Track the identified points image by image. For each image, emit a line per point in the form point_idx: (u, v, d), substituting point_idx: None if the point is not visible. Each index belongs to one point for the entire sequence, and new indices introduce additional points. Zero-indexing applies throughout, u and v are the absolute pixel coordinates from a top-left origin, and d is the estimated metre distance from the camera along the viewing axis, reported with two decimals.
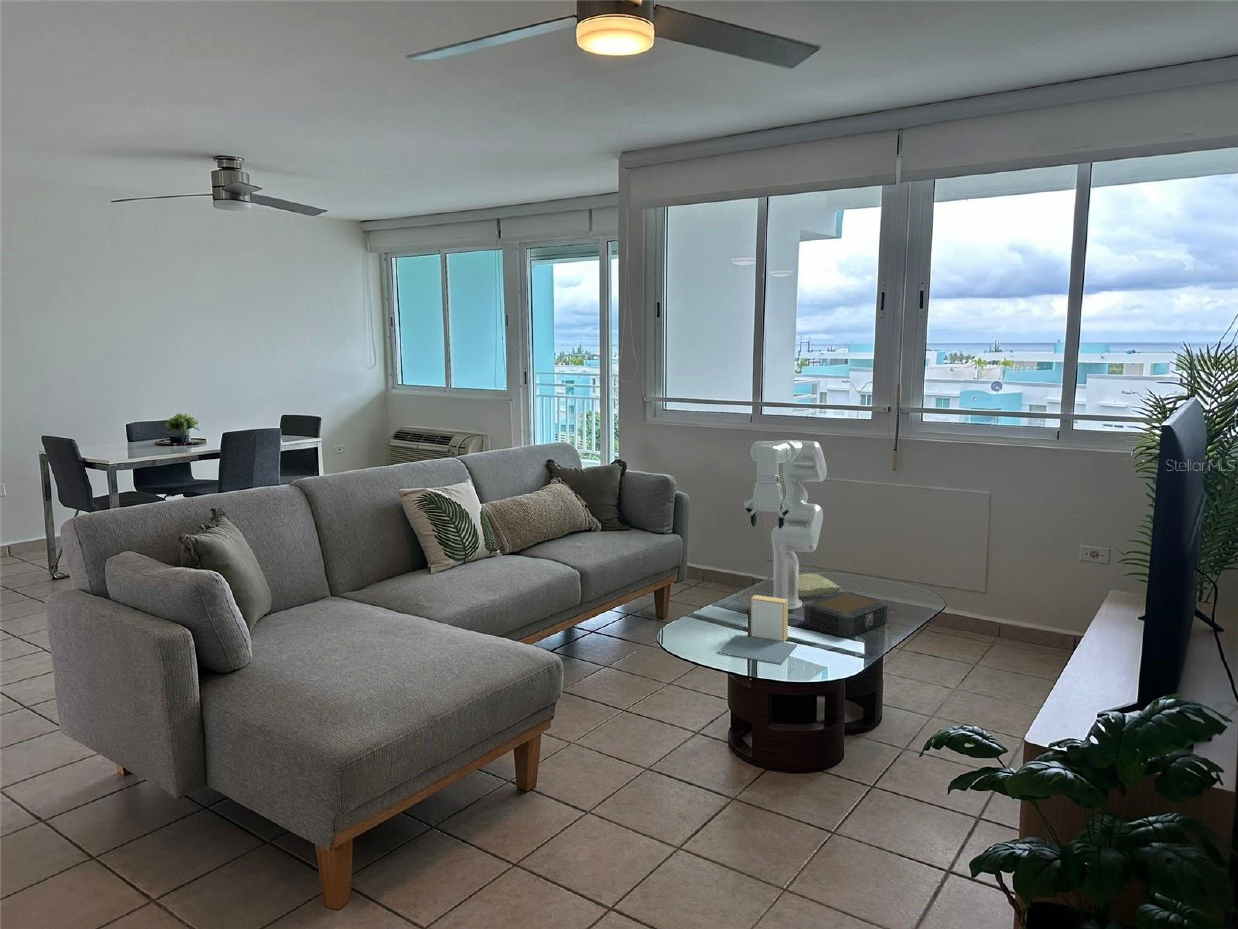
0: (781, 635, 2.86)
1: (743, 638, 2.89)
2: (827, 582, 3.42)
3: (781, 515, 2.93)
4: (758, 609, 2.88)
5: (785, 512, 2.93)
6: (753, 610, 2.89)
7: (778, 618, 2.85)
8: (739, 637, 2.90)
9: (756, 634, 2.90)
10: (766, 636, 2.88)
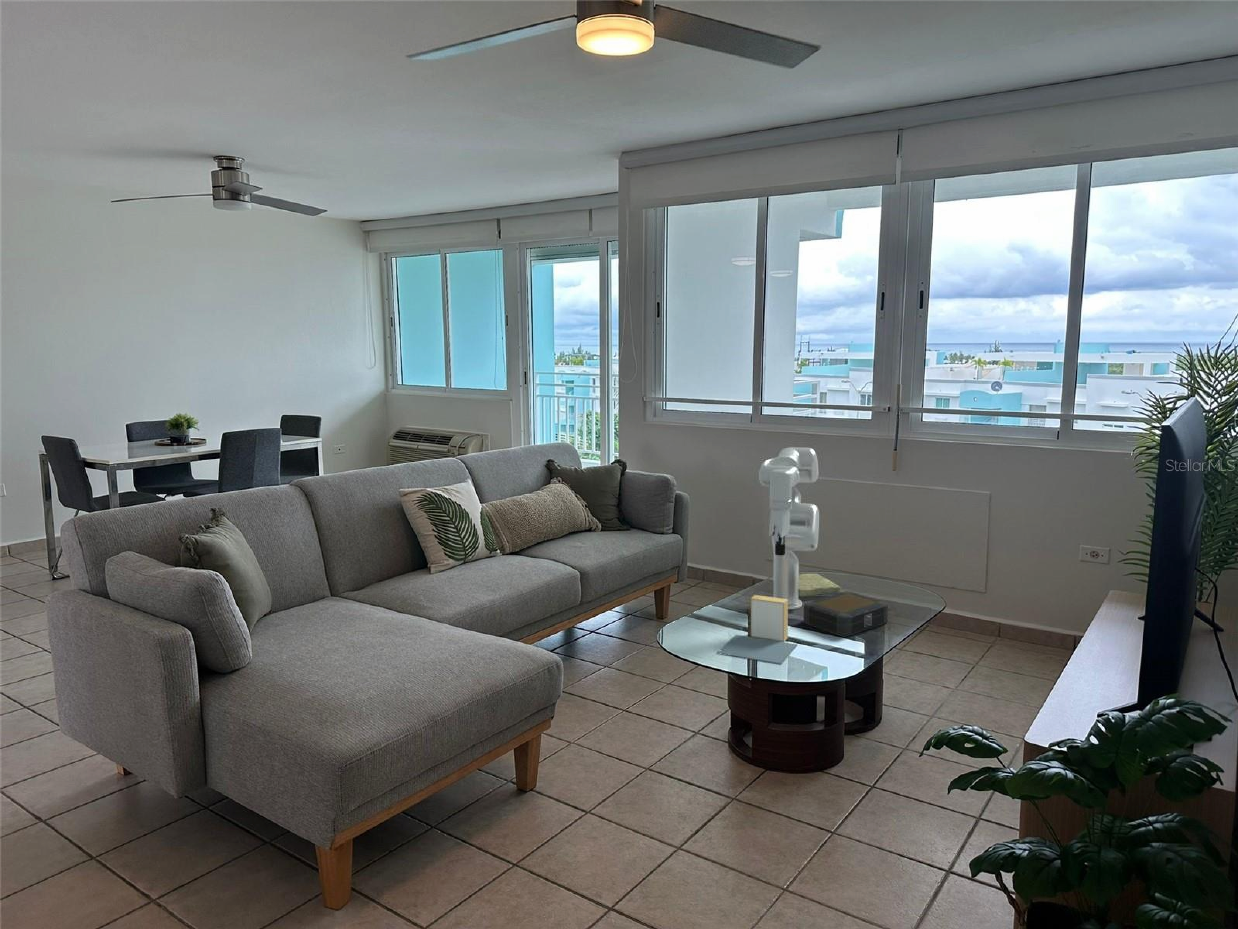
0: (781, 635, 2.86)
1: (743, 638, 2.89)
2: (827, 582, 3.42)
3: (784, 541, 2.96)
4: (758, 609, 2.88)
5: None
6: (753, 610, 2.89)
7: (778, 618, 2.85)
8: (739, 637, 2.90)
9: (756, 634, 2.90)
10: (766, 636, 2.88)
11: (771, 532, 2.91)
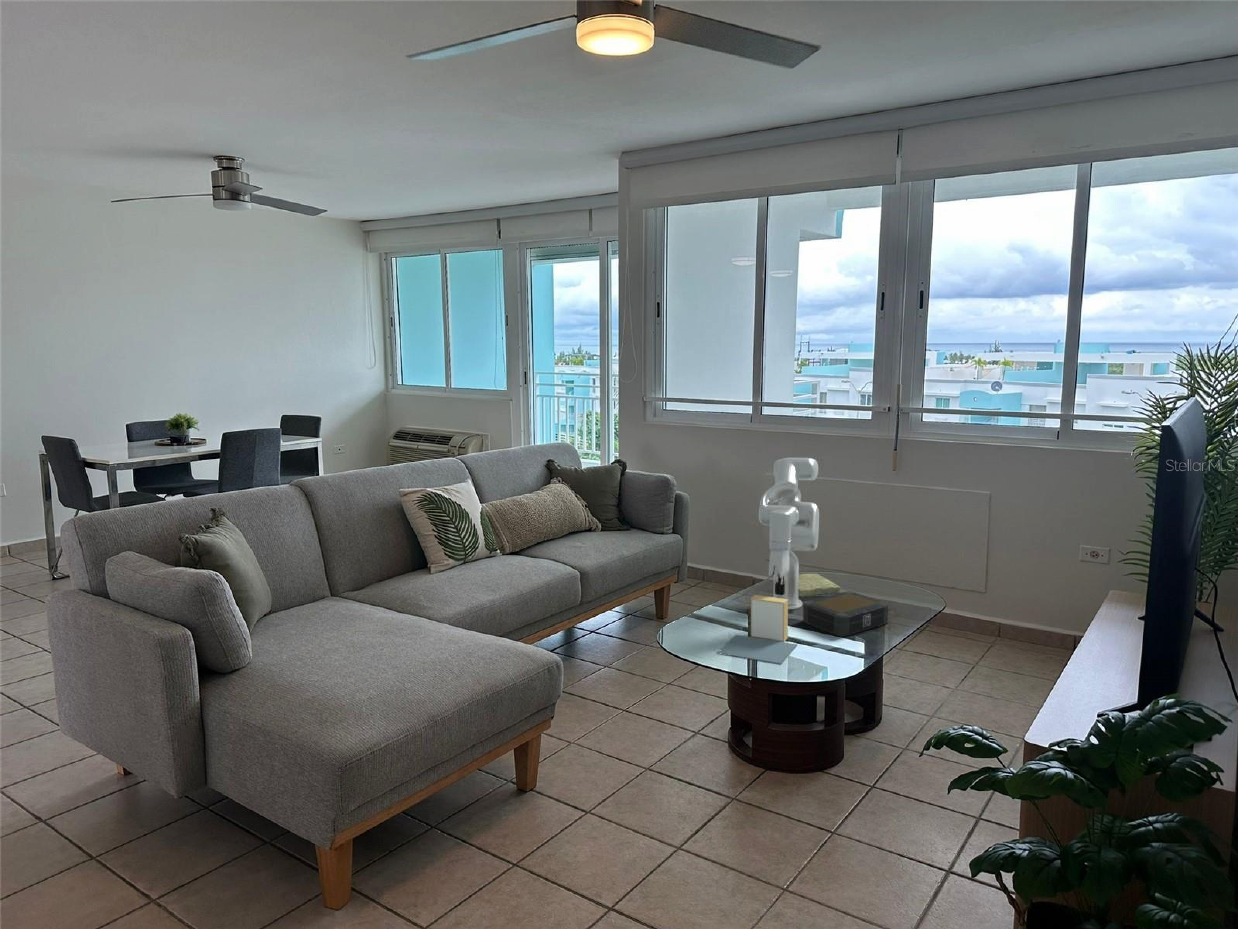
0: (781, 635, 2.86)
1: (743, 638, 2.89)
2: (827, 582, 3.42)
3: (784, 580, 2.98)
4: (758, 609, 2.88)
5: None
6: (753, 610, 2.89)
7: (778, 618, 2.85)
8: (739, 637, 2.90)
9: (756, 634, 2.90)
10: (766, 636, 2.88)
11: (771, 572, 2.94)
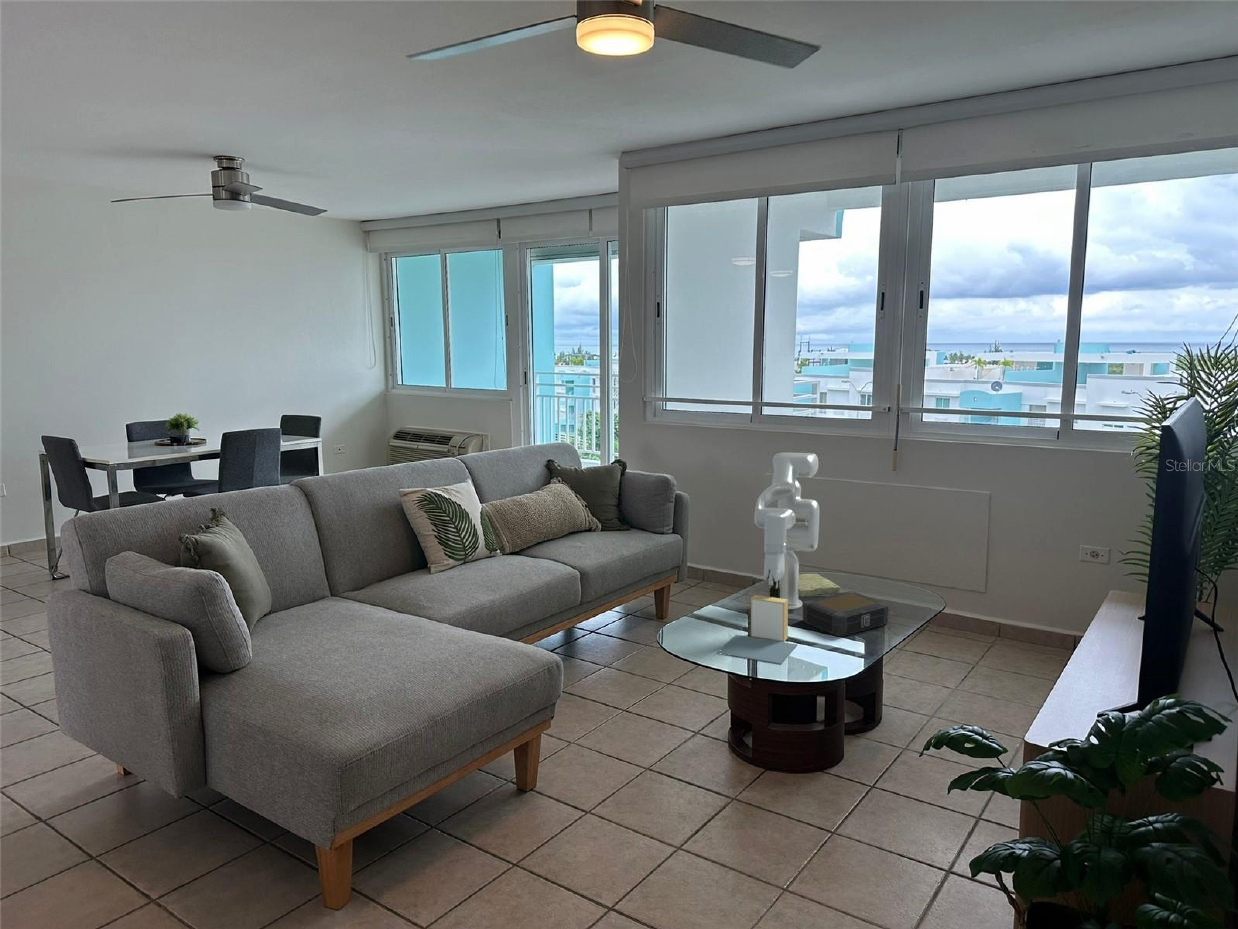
0: (781, 635, 2.86)
1: (743, 638, 2.89)
2: (827, 582, 3.42)
3: (779, 584, 2.93)
4: (758, 609, 2.88)
5: None
6: (753, 610, 2.89)
7: (778, 618, 2.85)
8: (739, 637, 2.90)
9: (756, 634, 2.90)
10: (766, 636, 2.88)
11: (766, 576, 2.89)
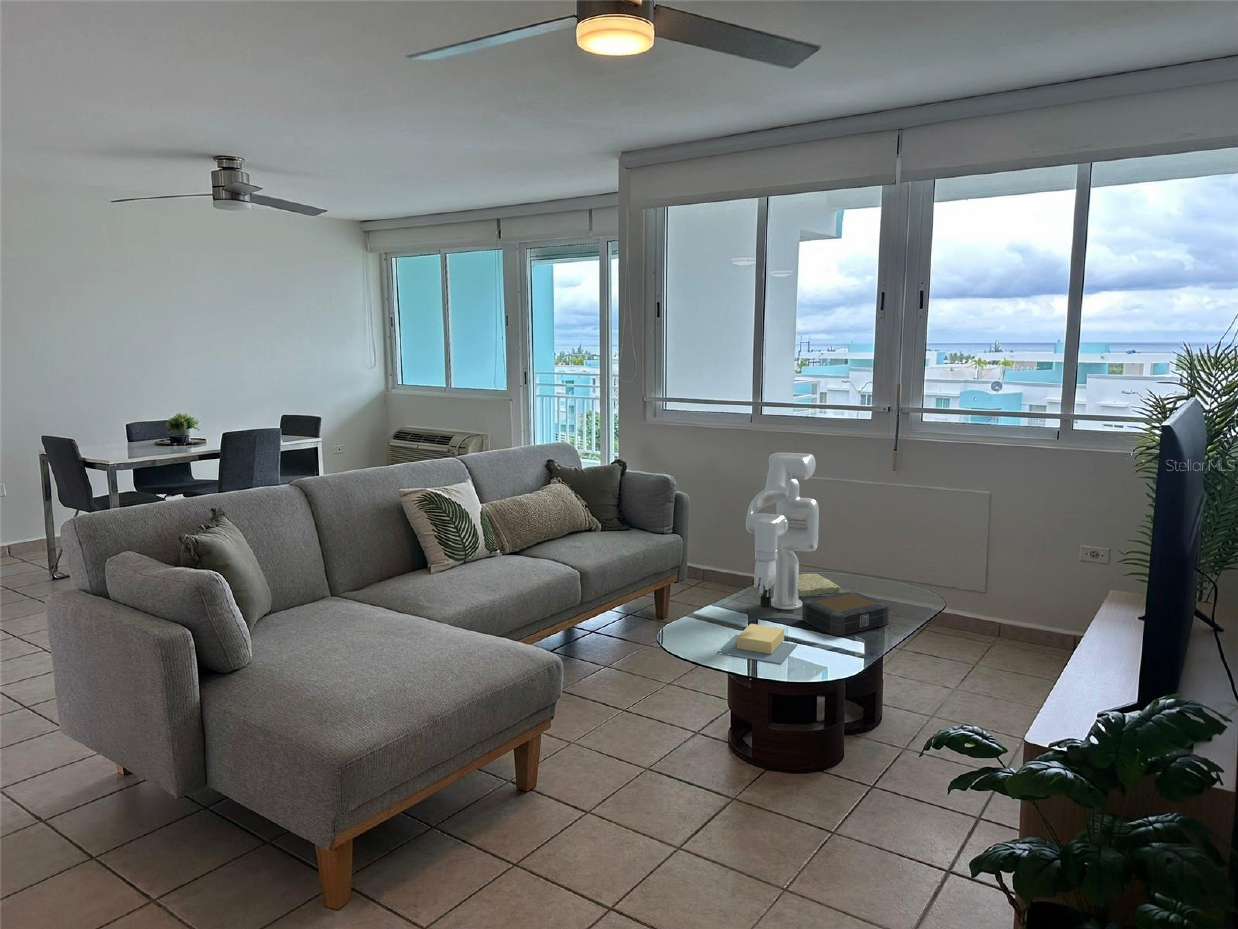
0: None
1: None
2: (827, 582, 3.42)
3: (770, 592, 2.85)
4: None
5: None
6: None
7: None
8: None
9: None
10: None
11: (756, 584, 2.80)
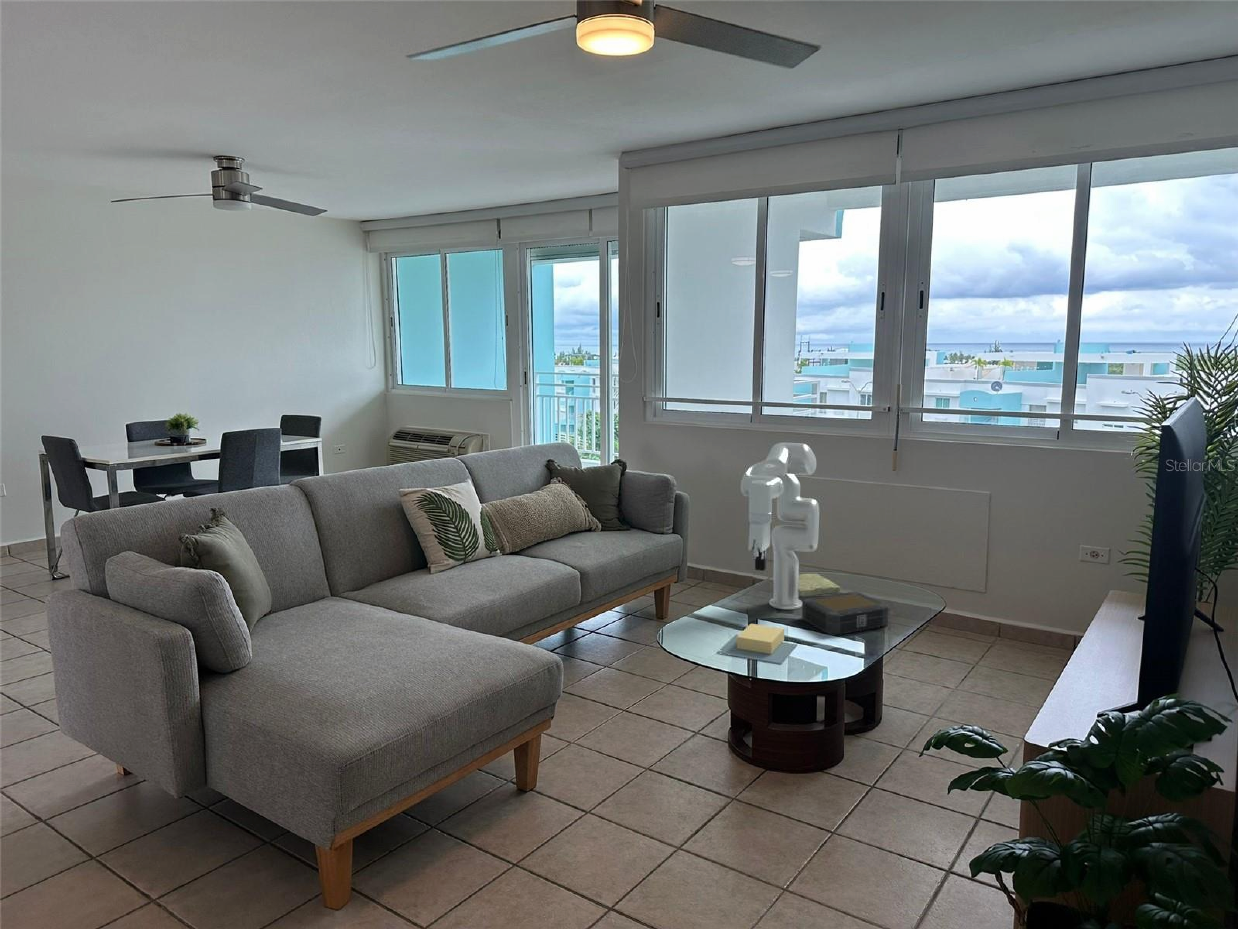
0: None
1: None
2: (827, 582, 3.42)
3: (765, 555, 2.82)
4: None
5: None
6: None
7: None
8: None
9: None
10: None
11: (750, 547, 2.77)
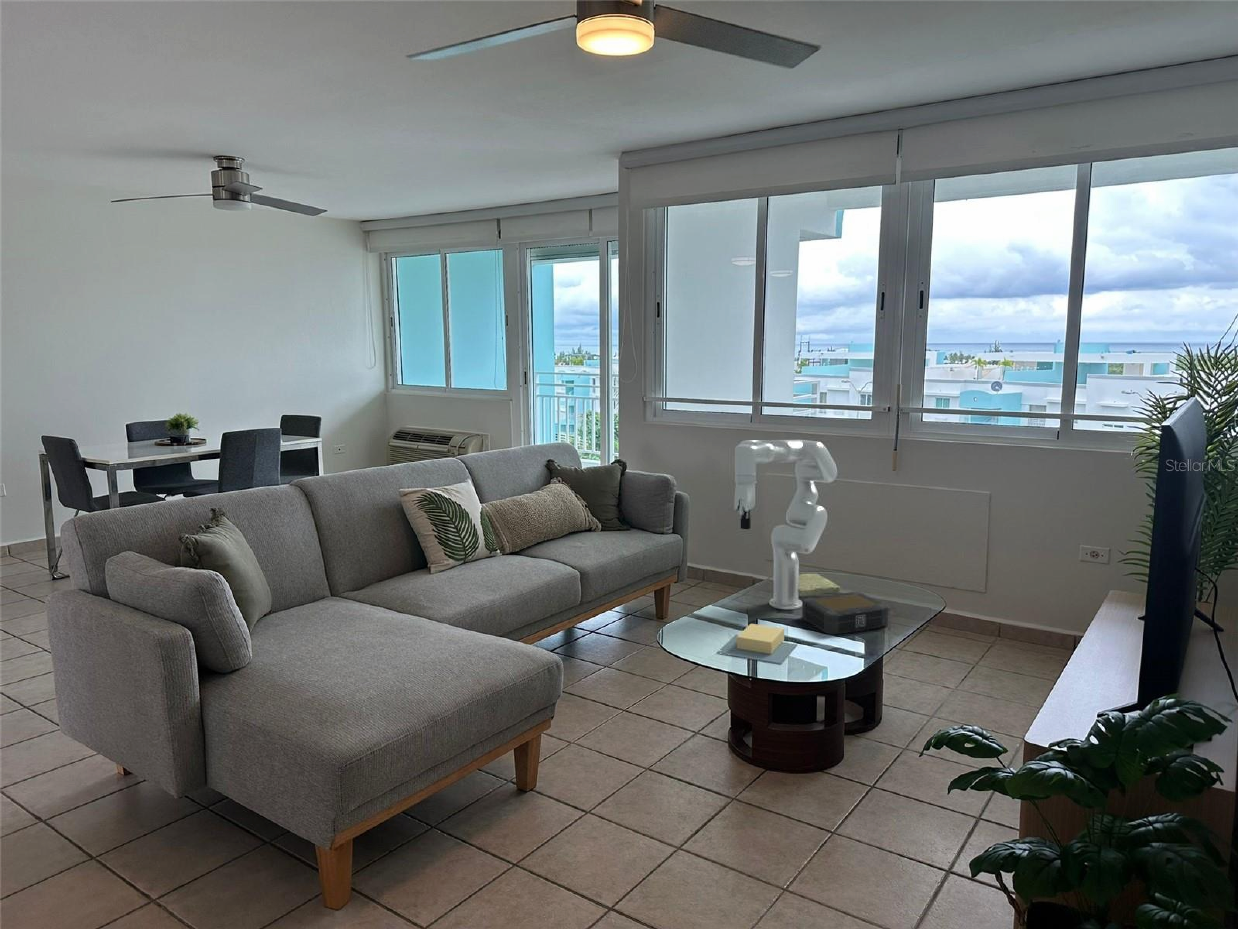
0: None
1: None
2: (827, 582, 3.42)
3: (750, 515, 3.01)
4: None
5: None
6: None
7: None
8: None
9: None
10: None
11: (736, 506, 2.96)
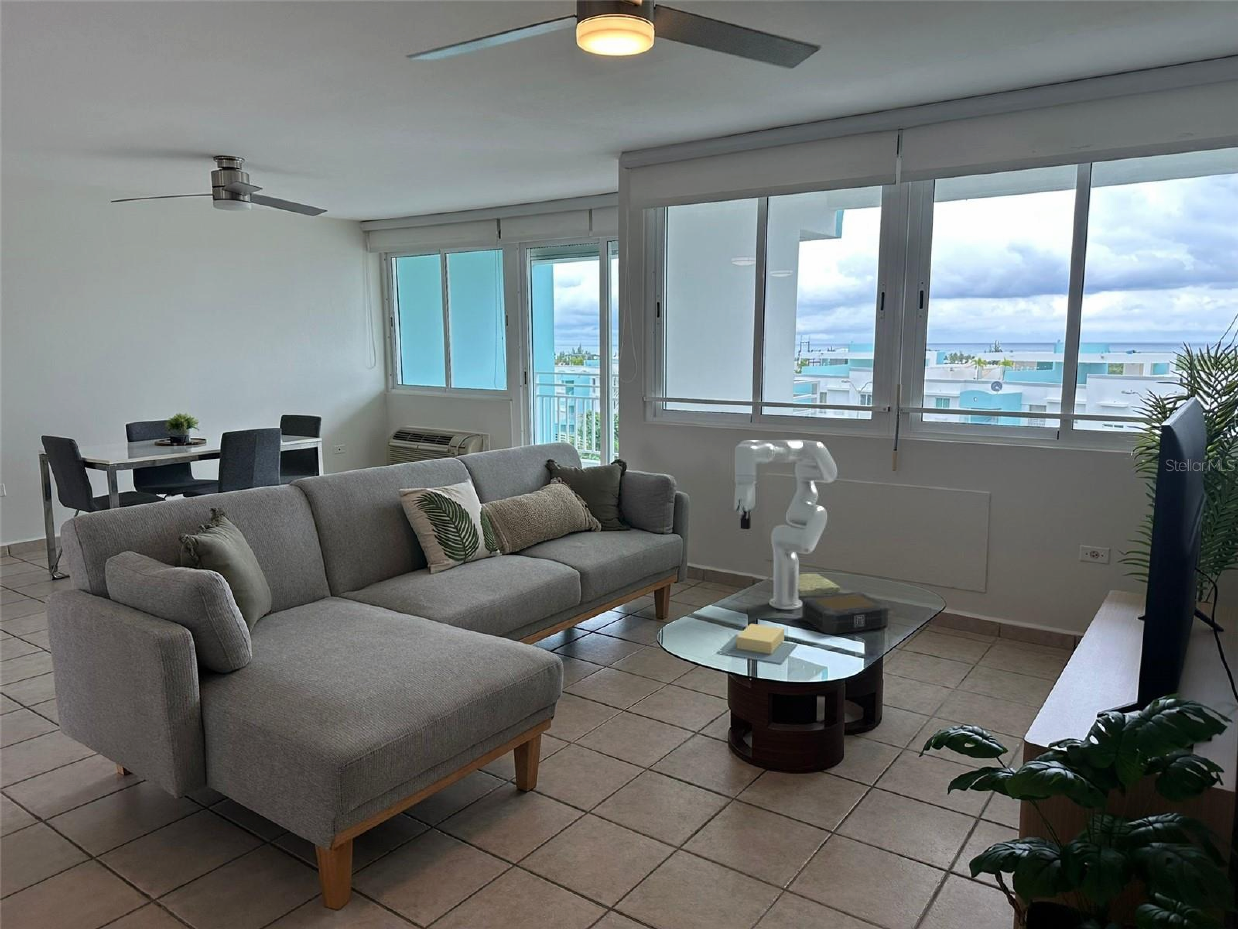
0: None
1: None
2: (827, 582, 3.42)
3: (750, 515, 3.01)
4: None
5: None
6: None
7: None
8: None
9: None
10: None
11: (736, 506, 2.96)
